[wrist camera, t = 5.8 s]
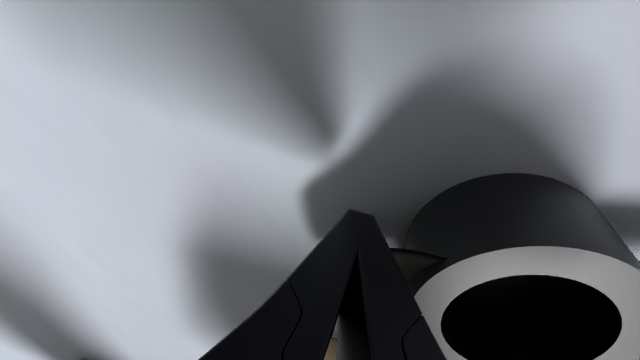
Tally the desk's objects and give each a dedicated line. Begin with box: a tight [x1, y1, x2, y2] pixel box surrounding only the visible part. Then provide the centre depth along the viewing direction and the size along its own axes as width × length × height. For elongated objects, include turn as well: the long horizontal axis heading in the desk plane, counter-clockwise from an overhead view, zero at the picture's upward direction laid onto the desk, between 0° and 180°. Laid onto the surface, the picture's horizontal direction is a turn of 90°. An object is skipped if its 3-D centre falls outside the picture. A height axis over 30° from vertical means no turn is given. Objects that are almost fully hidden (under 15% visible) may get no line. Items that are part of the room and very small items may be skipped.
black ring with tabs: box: [390, 173, 640, 360], centre depth 10 cm, size 8×10×3 cm
